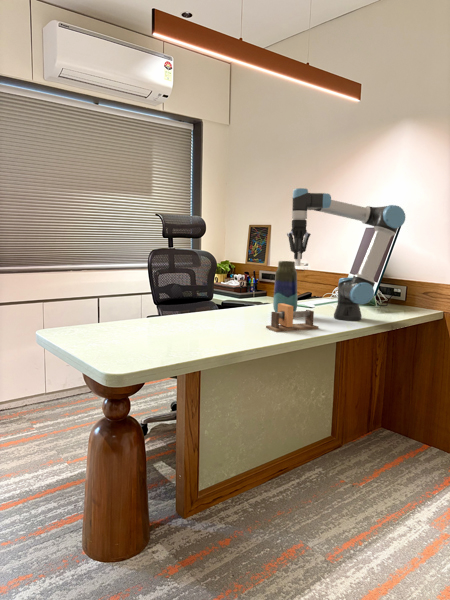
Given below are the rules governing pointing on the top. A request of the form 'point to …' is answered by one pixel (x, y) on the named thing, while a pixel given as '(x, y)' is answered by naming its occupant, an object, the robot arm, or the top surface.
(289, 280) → the vase
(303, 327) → the pipe rig
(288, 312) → the collar
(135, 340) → the top surface
